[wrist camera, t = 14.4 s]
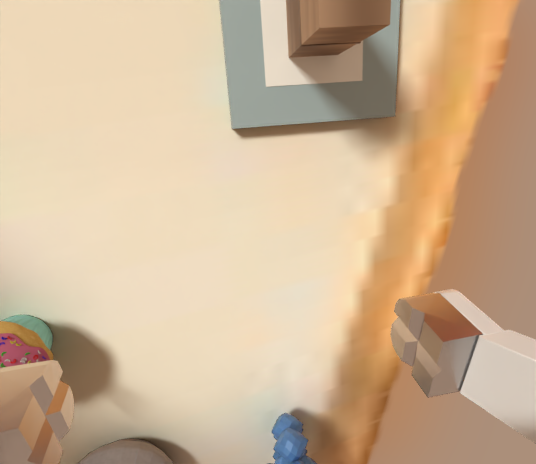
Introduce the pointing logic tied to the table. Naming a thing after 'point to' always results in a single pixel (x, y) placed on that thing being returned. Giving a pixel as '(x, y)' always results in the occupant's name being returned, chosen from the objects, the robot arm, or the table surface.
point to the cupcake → (24, 341)
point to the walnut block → (332, 24)
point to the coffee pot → (127, 453)
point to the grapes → (290, 441)
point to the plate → (303, 71)
